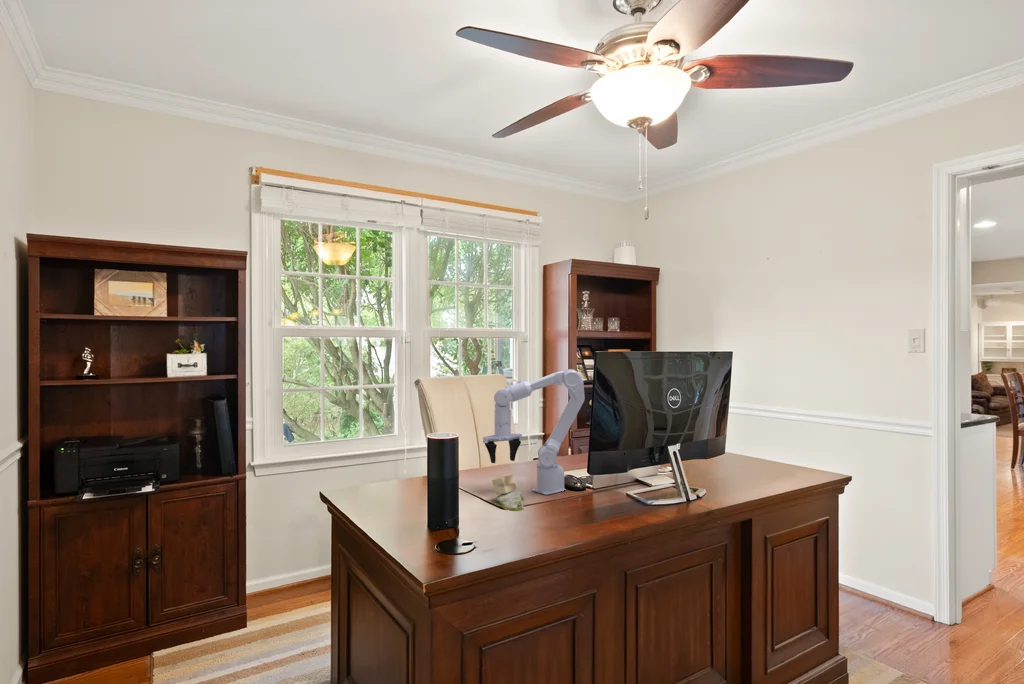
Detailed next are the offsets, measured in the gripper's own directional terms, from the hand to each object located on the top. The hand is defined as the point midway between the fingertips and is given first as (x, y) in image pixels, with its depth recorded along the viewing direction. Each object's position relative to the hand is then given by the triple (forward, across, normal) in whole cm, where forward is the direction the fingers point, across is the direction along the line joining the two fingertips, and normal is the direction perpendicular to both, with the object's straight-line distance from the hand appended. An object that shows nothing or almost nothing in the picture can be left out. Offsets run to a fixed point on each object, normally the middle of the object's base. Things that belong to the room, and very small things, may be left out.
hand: (502, 461), depth 199 cm
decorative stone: (+11, -4, -12) cm, 17 cm away
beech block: (+7, -5, -12) cm, 15 cm away
